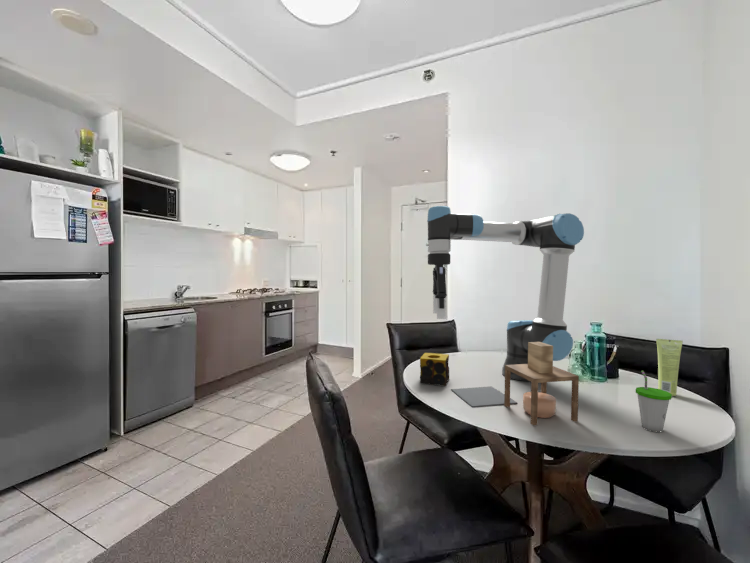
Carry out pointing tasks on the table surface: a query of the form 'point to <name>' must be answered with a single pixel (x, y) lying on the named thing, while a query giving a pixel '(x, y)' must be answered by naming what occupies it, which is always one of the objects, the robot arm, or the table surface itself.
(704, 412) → the table surface
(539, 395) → the peach rounded disc
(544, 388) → the wooden side table
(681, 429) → the table surface
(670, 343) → the tube
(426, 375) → the candle
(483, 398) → the mat
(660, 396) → the cup
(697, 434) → the table surface
